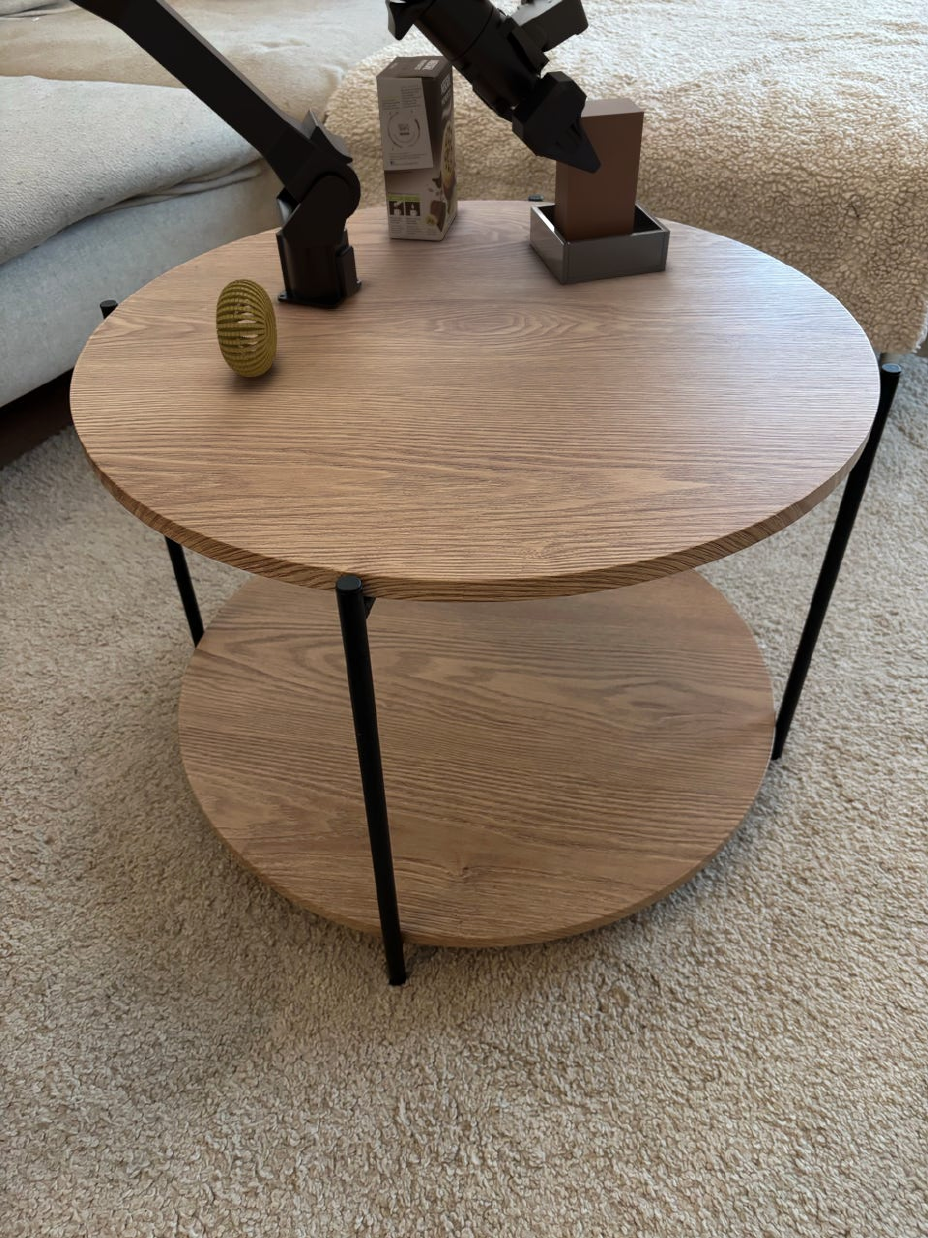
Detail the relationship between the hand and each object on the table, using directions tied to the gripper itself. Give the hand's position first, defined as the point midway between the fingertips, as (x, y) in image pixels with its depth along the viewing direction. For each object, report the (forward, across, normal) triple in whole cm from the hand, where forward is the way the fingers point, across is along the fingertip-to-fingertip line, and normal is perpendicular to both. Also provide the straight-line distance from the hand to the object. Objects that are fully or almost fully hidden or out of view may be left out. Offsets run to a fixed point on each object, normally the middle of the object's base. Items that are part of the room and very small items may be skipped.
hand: (581, 154), depth 88 cm
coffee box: (-2, +15, +17) cm, 22 cm away
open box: (+9, 0, +6) cm, 11 cm away
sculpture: (-17, -14, +32) cm, 39 cm away
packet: (+8, -1, +6) cm, 10 cm away
